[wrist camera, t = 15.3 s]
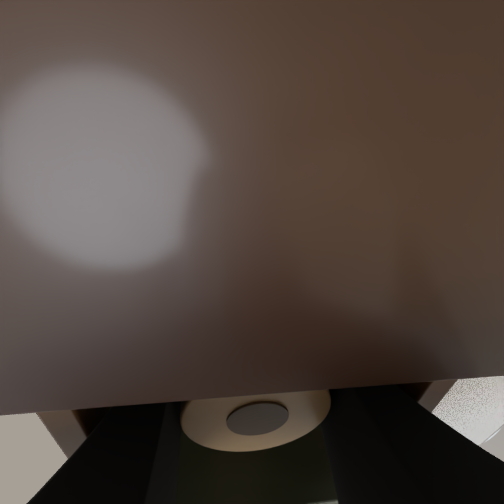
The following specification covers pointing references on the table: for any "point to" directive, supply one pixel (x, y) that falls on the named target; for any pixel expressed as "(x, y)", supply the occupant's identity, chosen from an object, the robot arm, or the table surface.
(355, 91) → the cabinet
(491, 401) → the table surface
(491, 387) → the table surface
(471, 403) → the table surface
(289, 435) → the paper towel roll
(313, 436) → the drawer
